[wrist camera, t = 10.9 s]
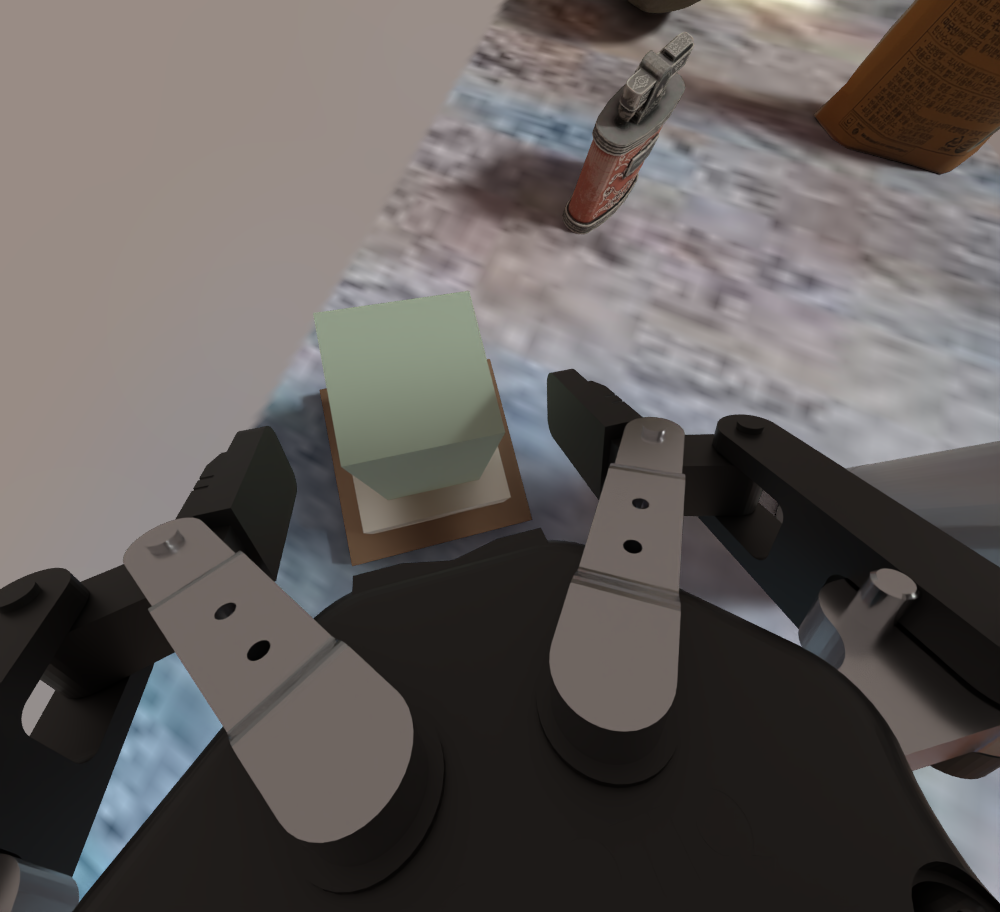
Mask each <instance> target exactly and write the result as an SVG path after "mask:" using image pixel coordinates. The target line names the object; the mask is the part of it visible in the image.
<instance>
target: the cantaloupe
mask: <svg viewBox="0 0 1000 912" xmlns="http://www.w3.org/2000/svg"><path fill="white" fill-rule="evenodd" d="M627 1H629V2H630V3H632V4H633V5H634V6H636V7H637V8H639V9H641V10H642V11H645V12H648V13H665V12H671V11H676V10H680V9H683V8H686V7H689V6H691V5H693V4H694V3H696V2H699V1H700V0H627Z"/></svg>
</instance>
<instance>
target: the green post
mask: <svg viewBox="0 0 1000 912" xmlns="http://www.w3.org/2000/svg"><path fill="white" fill-rule="evenodd" d="M313 315H314V320H315V326H316V332H317V337H318V343H319V348H320V354H321V359H322V365H323V370H324V376H325V381H326V387H327V392H328V398H329V403H330V409H331V414H332V420H333V425H334V431H335V436H336V442H337V447H338V453H339V458H340V464H341V467H342V468H343V469H345V470H346V471H348V472H349V473H350V474H352V475H353V476H355V477H356V478H357V479H359V480H360V481H362V482H363V483H364V484H366V485H367V486H369V487H370V488H371V489H373V490H374V491H376V492H377V493H378V494H380V495H381V496H383V497H384V498H385V499H387V500H391V499H396V498H400V497H404V496H409V495H413V494H418V493H422V492H426V491H431V490H435V489H440V488H444V487H448V486H453V485H457V484H462V483H466V482H470V481H475V480H479V479H480V477H481V475H482V474H483V472H484V470H485V468H486V466H487V465H488V463H489V461H490V459H491V457H492V456H493V454H494V452H495V450H496V448H497V447H498V445H499V443H500V441H501V439H502V438H503V436H504V434H505V429H504V425H503V421H502V417H501V414H500V410H499V406H498V402H497V398H496V394H495V390H494V386H493V382H492V378H491V375H490V371H489V367H488V363H487V359H486V355H485V351H484V347H483V343H482V339H481V336H480V332H479V328H478V324H477V320H476V316H475V312H474V308H473V304H472V300H471V296H470V293H469V291H465V292H458V293H451V294H444V295H437V296H430V297H423V298H416V299H409V300H402V301H395V302H388V303H381V304H374V305H367V306H360V307H353V308H346V309H339V310H332V311H326V312H319V313H313Z"/></svg>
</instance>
